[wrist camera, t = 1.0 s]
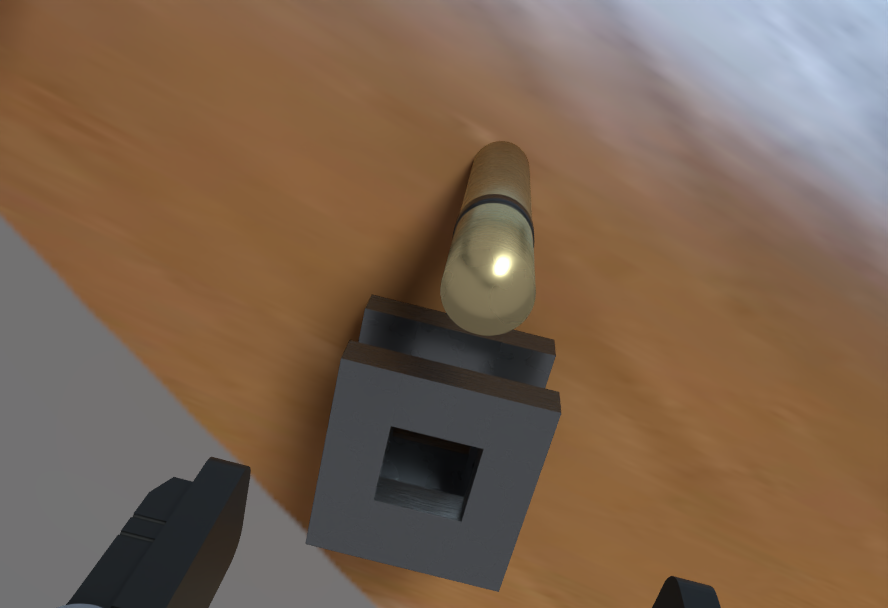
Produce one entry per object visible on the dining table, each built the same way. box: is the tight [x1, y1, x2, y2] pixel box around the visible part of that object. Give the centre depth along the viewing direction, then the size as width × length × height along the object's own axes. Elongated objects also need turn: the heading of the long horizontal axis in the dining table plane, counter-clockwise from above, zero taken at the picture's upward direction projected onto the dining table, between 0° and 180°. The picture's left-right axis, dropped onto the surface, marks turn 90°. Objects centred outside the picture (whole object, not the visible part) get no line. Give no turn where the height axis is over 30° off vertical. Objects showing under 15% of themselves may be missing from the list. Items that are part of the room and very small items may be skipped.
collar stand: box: [306, 295, 561, 592], centre depth 42 cm, size 12×11×10 cm
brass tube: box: [440, 141, 536, 336], centre depth 33 cm, size 3×3×18 cm
